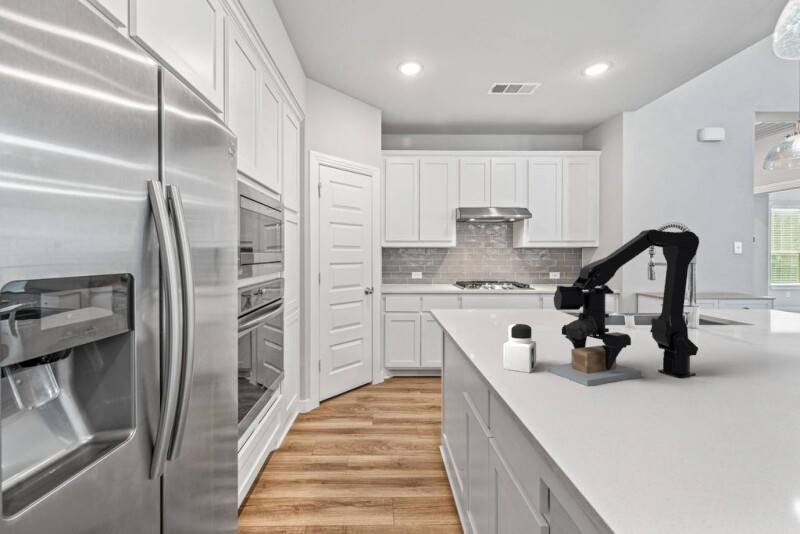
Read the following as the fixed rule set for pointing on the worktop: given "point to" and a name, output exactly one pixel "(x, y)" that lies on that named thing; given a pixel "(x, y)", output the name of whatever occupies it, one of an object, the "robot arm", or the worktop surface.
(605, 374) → the pin board
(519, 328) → the container
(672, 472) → the worktop surface
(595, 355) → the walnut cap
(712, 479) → the worktop surface
